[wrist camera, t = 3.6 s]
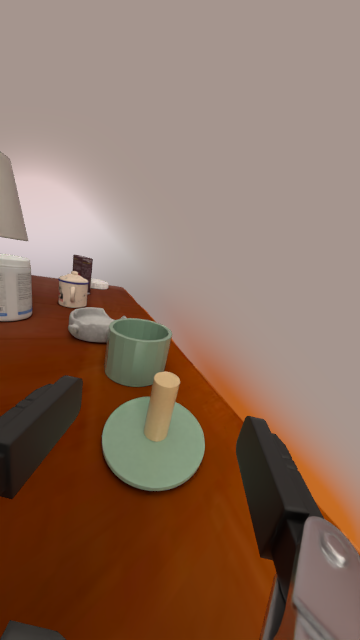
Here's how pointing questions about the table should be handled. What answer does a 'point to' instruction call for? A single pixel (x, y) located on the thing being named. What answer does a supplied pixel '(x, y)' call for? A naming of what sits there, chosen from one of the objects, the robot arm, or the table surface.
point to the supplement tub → (15, 288)
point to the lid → (154, 439)
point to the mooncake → (98, 284)
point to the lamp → (10, 204)
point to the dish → (90, 324)
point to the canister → (136, 351)
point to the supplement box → (83, 268)
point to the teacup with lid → (73, 290)
